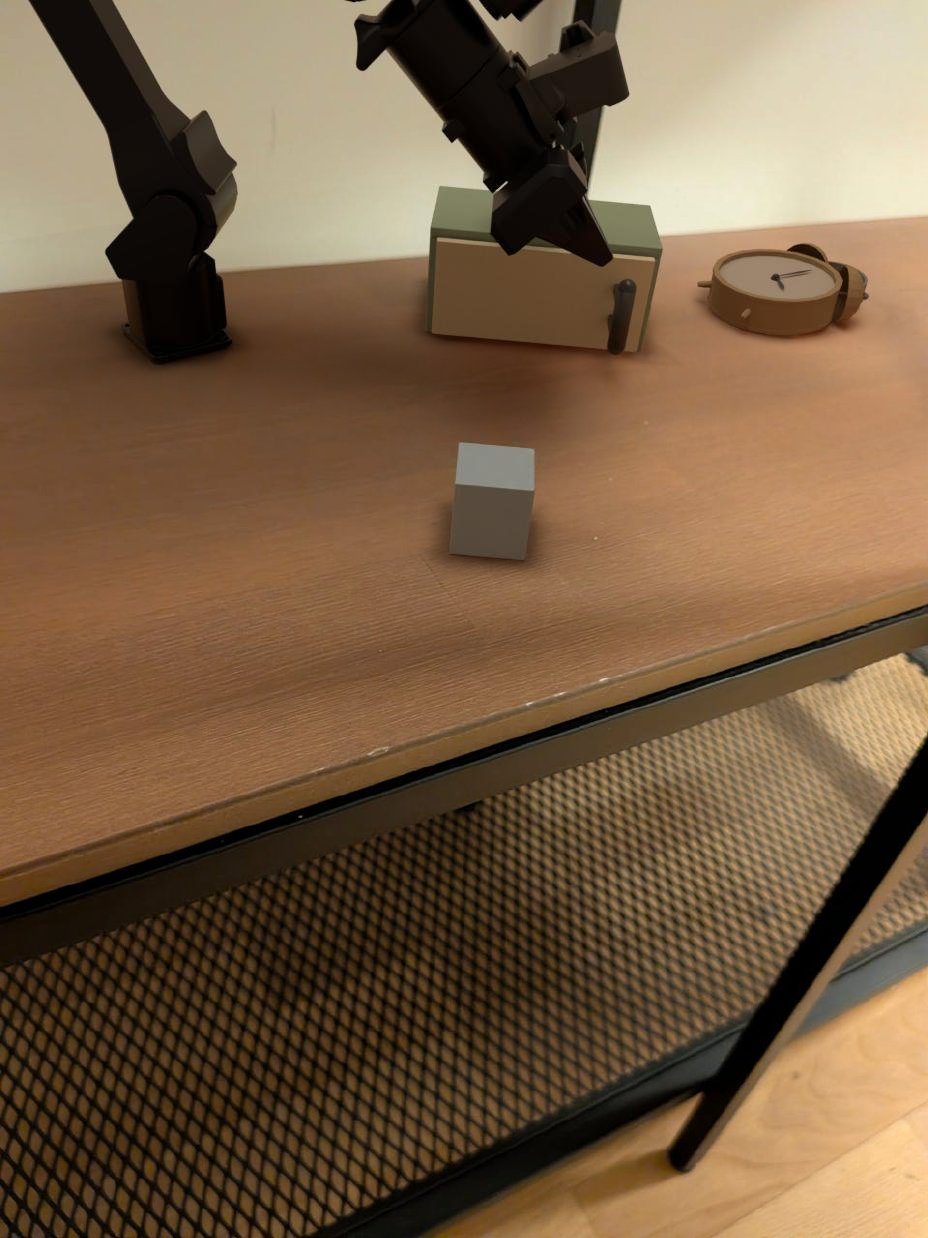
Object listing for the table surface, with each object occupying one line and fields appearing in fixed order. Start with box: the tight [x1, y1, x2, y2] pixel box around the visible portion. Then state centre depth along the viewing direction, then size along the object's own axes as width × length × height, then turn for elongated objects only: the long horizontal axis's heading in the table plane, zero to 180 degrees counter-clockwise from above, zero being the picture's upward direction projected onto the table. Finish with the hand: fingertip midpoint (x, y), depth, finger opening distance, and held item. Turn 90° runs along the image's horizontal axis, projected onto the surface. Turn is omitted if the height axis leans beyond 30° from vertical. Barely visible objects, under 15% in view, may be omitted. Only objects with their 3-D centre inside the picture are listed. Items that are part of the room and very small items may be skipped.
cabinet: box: [424, 185, 664, 352], centre depth 80 cm, size 18×10×8 cm, turn 87°
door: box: [431, 237, 655, 356], centre depth 74 cm, size 17×6×8 cm, turn 87°
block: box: [449, 441, 536, 561], centre depth 57 cm, size 4×4×5 cm
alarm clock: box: [697, 242, 870, 336], centre depth 87 cm, size 11×5×15 cm
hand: (607, 261), depth 69 cm, fingers closed
